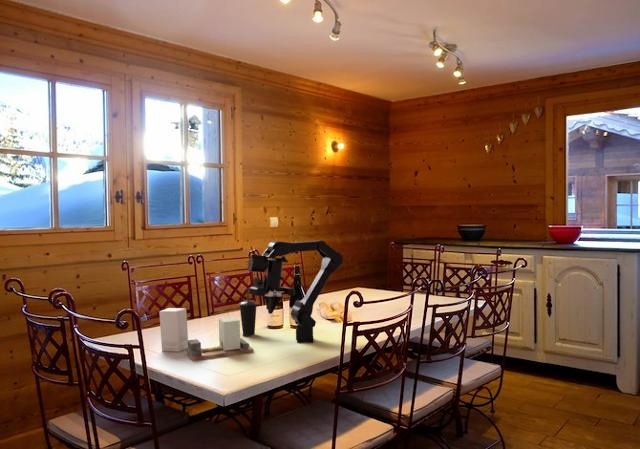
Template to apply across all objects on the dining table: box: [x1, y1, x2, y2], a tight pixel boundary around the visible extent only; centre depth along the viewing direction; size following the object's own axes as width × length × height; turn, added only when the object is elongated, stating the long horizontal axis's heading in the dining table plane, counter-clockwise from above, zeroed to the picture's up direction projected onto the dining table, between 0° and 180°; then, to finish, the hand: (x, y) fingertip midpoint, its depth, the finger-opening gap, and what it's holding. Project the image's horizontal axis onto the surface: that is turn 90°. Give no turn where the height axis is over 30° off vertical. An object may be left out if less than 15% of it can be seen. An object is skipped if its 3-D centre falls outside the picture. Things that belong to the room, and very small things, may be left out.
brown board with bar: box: [186, 337, 254, 362], centre depth 193 cm, size 22×10×6 cm, turn 116°
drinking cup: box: [238, 287, 258, 337], centre depth 219 cm, size 8×8×20 cm
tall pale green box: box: [218, 316, 241, 351], centre depth 194 cm, size 6×7×10 cm
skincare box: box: [158, 307, 189, 353], centre depth 199 cm, size 8×7×16 cm
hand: (270, 313), depth 201 cm, fingers closed
